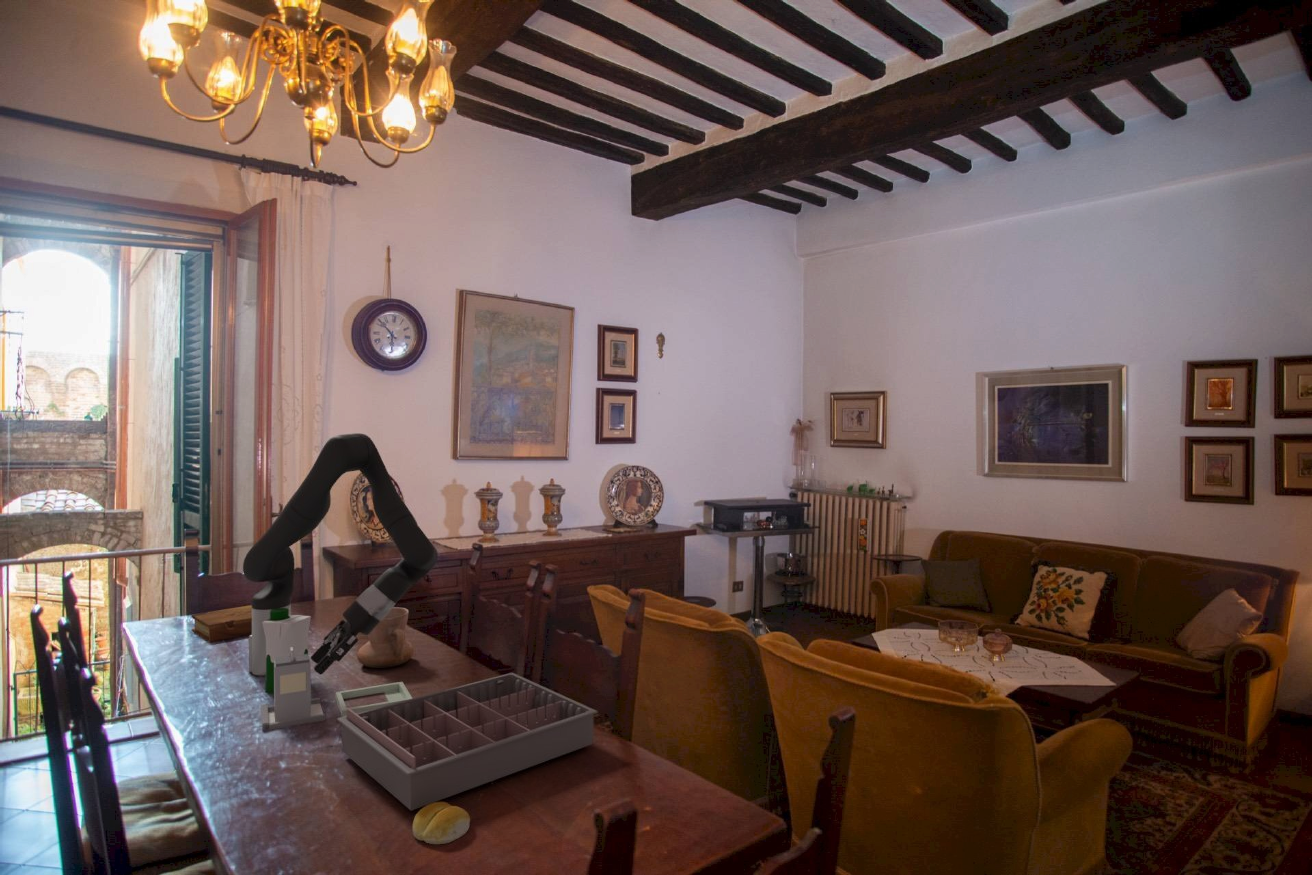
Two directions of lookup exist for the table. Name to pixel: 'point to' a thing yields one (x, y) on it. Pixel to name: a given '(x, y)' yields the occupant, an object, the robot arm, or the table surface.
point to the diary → (224, 623)
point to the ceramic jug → (387, 642)
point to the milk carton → (283, 639)
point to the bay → (270, 723)
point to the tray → (391, 691)
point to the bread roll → (440, 823)
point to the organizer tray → (464, 736)
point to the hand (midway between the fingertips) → (315, 666)
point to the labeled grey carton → (292, 687)
